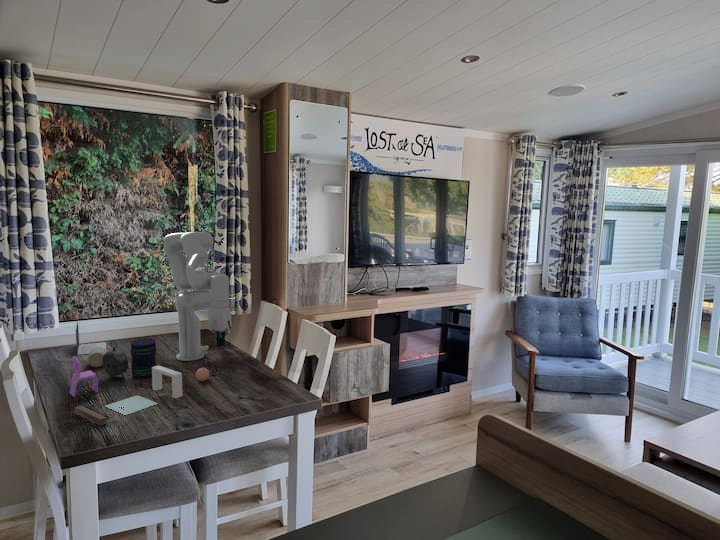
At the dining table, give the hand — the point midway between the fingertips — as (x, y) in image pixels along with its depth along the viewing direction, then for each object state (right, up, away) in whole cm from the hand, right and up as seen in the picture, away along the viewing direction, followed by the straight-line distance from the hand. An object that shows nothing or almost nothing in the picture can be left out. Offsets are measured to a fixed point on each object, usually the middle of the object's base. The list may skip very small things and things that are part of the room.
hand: (220, 345), depth 216 cm
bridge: (-15, -15, -20) cm, 29 cm away
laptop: (-73, -7, +34) cm, 81 cm away
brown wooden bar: (-32, -18, -44) cm, 58 cm away
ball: (-6, -11, -6) cm, 14 cm away
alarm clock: (-43, -13, -5) cm, 45 cm away
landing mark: (-24, -17, -32) cm, 43 cm away
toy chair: (-47, -15, -22) cm, 54 cm away
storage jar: (-32, -13, -2) cm, 35 cm away
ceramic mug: (-57, -10, +11) cm, 59 cm away
